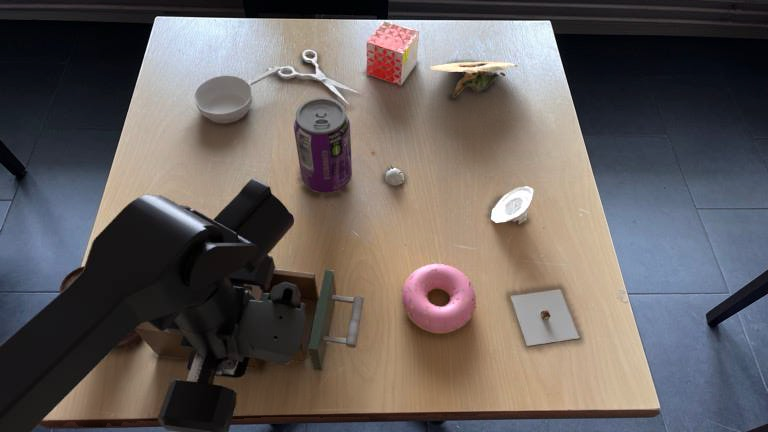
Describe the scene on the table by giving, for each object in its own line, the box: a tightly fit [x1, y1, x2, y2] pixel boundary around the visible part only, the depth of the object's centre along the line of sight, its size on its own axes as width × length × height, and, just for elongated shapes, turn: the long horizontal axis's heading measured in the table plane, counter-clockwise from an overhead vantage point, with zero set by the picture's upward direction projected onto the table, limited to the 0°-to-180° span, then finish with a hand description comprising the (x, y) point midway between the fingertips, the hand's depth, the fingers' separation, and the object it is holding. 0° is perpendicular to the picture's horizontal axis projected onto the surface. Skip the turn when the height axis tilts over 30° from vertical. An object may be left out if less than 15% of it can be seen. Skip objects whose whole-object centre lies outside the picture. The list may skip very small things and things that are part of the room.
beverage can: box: [293, 96, 353, 194], centre depth 86 cm, size 9×9×15 cm
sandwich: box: [429, 61, 518, 99], centre depth 105 cm, size 18×14×8 cm
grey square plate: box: [510, 289, 580, 347], centre depth 77 cm, size 8×8×2 cm
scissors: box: [267, 49, 362, 105], centre depth 106 cm, size 11×1×20 cm
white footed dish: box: [490, 185, 534, 225], centre depth 86 cm, size 8×5×8 cm
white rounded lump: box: [385, 165, 405, 186], centre depth 91 cm, size 3×4×3 cm
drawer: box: [263, 268, 365, 372], centre depth 71 cm, size 18×11×8 cm, turn 83°
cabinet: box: [134, 255, 277, 370], centre depth 72 cm, size 15×13×10 cm
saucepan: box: [193, 65, 281, 124], centre depth 101 cm, size 11×18×4 cm, turn 129°
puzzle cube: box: [366, 20, 420, 87], centre depth 106 cm, size 8×8×8 cm
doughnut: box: [400, 262, 477, 334], centre depth 77 cm, size 11×11×4 cm
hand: (238, 363), depth 59 cm, fingers closed
